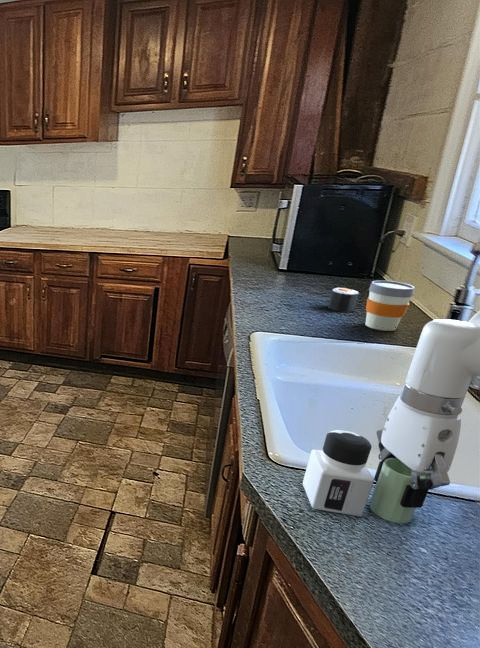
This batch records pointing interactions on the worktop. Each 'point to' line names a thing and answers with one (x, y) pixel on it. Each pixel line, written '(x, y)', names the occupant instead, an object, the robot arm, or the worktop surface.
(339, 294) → the sushi
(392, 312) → the reusable coffee cup
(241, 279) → the worktop surface
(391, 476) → the cup
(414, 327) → the worktop surface
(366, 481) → the container
